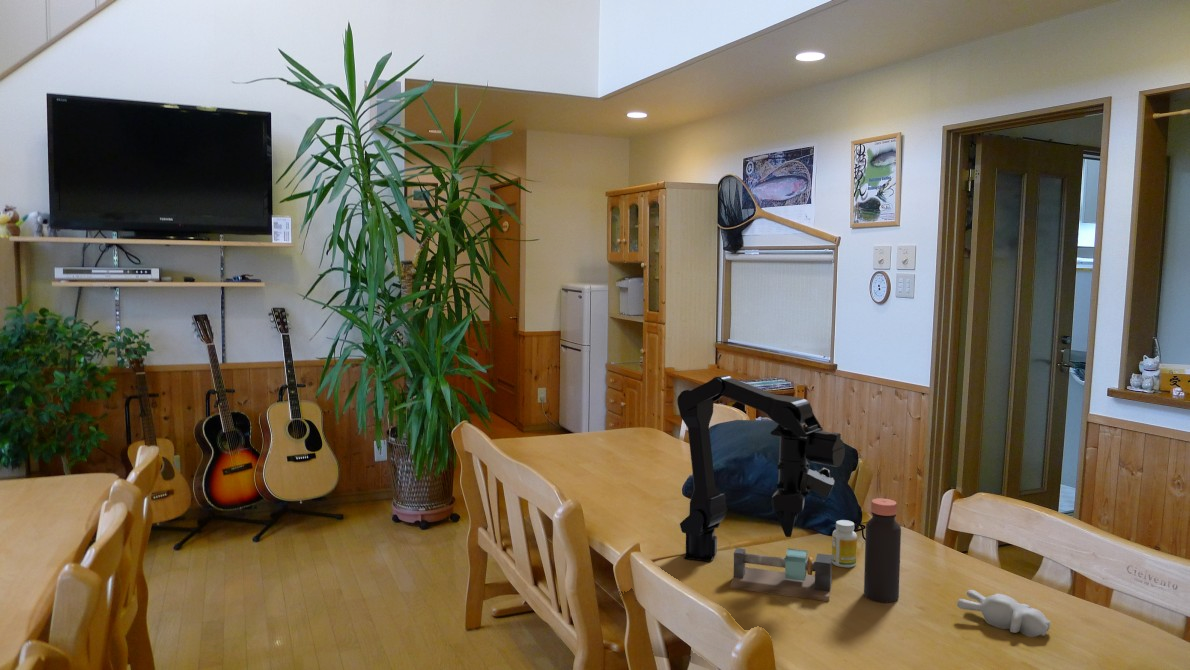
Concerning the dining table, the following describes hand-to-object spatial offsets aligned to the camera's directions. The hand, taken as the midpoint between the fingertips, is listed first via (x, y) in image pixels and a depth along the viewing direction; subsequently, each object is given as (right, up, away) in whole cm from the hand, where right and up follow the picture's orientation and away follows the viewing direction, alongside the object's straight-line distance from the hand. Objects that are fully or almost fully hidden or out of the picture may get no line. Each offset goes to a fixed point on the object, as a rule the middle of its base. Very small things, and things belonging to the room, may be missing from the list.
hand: (790, 529), depth 171 cm
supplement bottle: (+15, -11, +12) cm, 22 cm away
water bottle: (+17, -12, -6) cm, 22 cm away
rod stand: (-2, -12, 0) cm, 12 cm away
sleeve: (+1, -9, -2) cm, 9 cm away
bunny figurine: (+36, -14, -19) cm, 43 cm away
